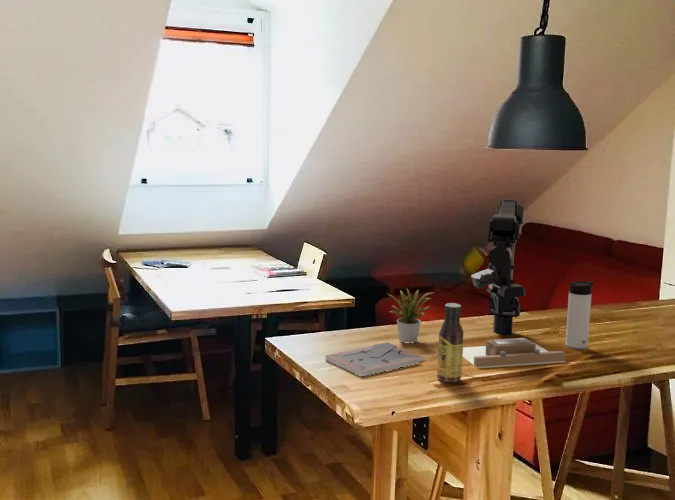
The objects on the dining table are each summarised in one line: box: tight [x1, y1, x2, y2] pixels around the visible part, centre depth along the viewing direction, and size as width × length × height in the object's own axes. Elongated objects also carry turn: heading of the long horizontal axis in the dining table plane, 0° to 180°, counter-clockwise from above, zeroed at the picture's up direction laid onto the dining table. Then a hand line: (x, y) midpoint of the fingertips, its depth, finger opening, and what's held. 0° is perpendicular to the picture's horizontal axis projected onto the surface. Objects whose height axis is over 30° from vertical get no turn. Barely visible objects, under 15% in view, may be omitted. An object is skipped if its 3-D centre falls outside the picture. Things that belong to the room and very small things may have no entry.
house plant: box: [387, 287, 435, 343], centre depth 231 cm, size 14×14×16 cm
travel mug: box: [565, 280, 594, 351], centre depth 226 cm, size 6×7×20 cm
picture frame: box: [325, 342, 426, 377], centre depth 213 cm, size 16×2×22 cm
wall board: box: [462, 343, 567, 369], centre depth 218 cm, size 18×26×4 cm
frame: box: [485, 337, 537, 356], centre depth 216 cm, size 6×12×4 cm, turn 104°
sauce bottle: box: [436, 302, 464, 383], centre depth 197 cm, size 7×6×20 cm
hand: (499, 314), depth 222 cm, fingers closed
